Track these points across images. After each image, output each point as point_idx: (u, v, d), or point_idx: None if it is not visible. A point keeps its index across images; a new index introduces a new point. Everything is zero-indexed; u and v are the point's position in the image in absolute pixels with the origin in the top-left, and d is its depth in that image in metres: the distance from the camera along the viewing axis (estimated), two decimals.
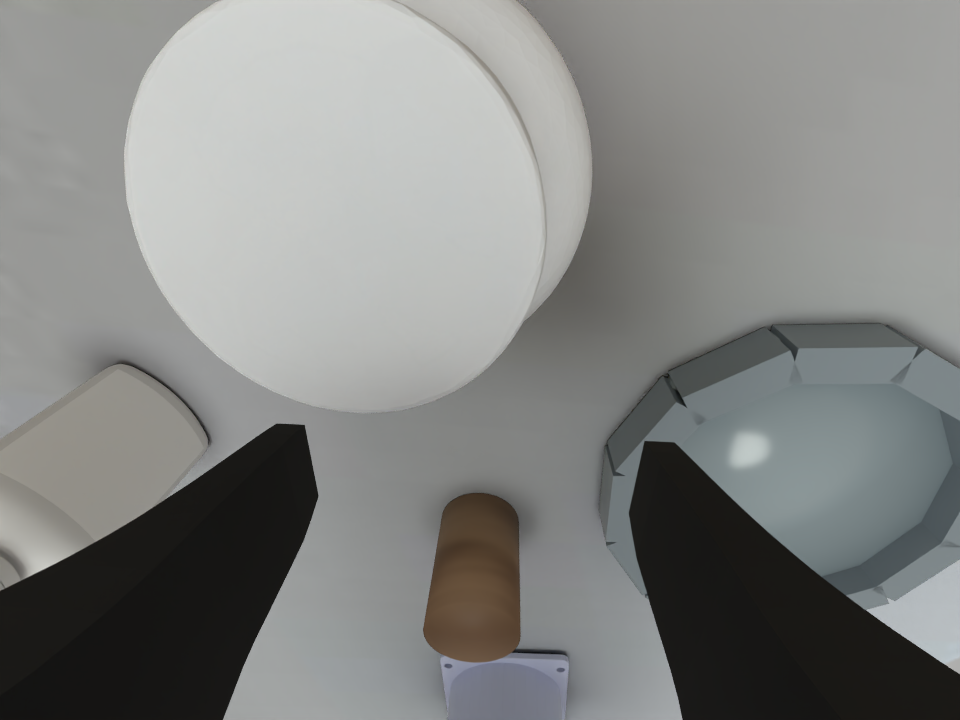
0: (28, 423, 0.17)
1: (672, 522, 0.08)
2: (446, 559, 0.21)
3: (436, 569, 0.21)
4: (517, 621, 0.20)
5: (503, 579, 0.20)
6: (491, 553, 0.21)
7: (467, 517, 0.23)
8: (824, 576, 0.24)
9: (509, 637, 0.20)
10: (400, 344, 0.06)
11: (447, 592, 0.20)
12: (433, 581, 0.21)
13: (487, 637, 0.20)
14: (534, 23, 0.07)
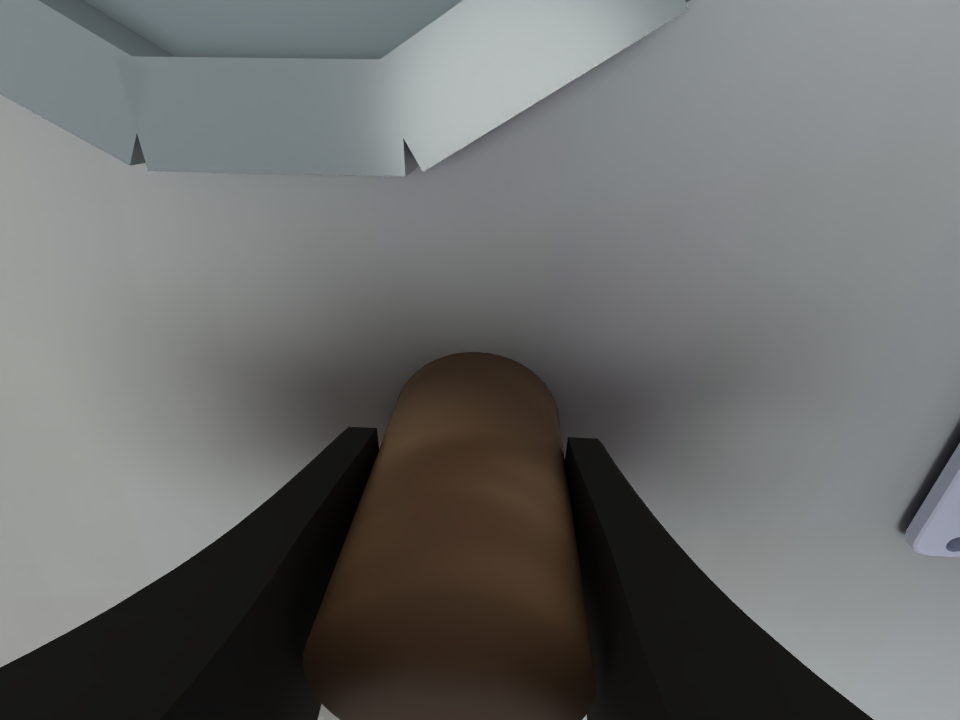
0: None
1: (581, 518, 0.08)
2: None
3: None
4: (393, 579, 0.06)
5: (359, 525, 0.07)
6: None
7: None
8: None
9: (456, 614, 0.06)
10: None
11: None
12: None
13: (459, 658, 0.06)
14: None
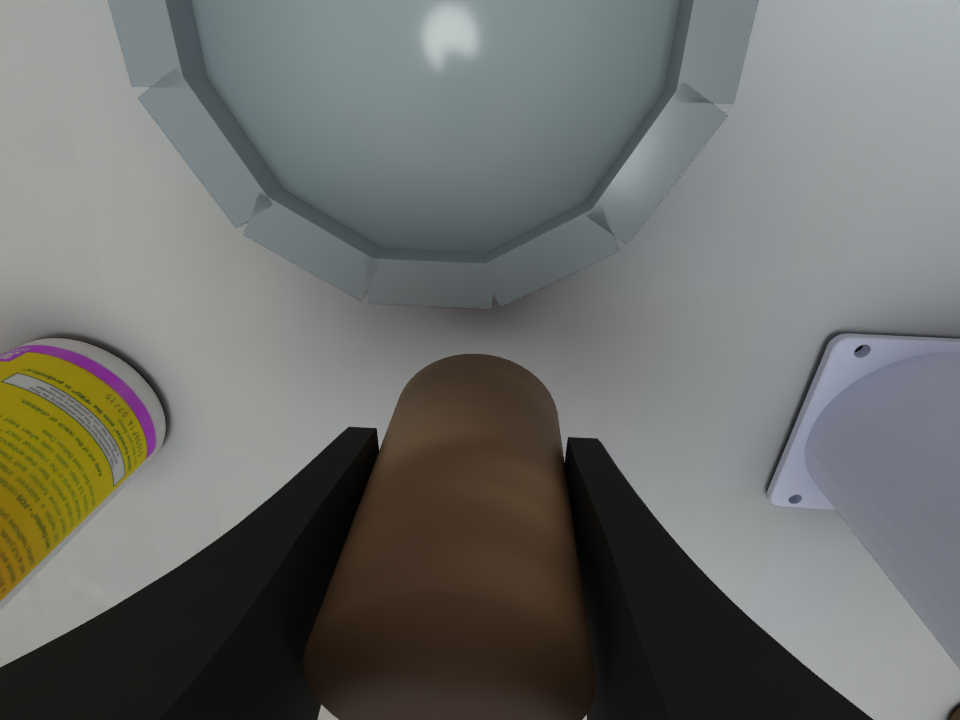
0: None
1: (582, 518, 0.08)
2: None
3: None
4: (393, 581, 0.06)
5: (359, 527, 0.07)
6: (360, 503, 0.09)
7: None
8: None
9: (456, 616, 0.06)
10: None
11: None
12: None
13: (459, 659, 0.06)
14: None
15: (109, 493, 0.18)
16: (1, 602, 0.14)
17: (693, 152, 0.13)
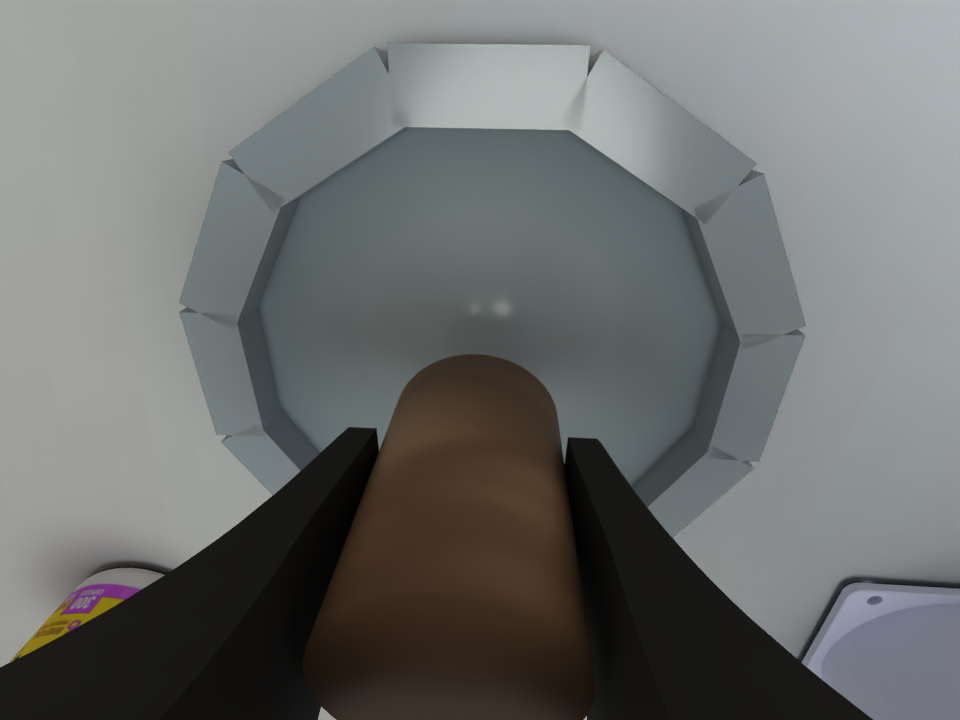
0: None
1: (582, 517, 0.08)
2: None
3: None
4: (392, 583, 0.06)
5: (359, 529, 0.07)
6: (359, 504, 0.09)
7: None
8: (701, 266, 0.13)
9: (455, 618, 0.06)
10: None
11: None
12: None
13: (458, 661, 0.06)
14: None
15: None
16: None
17: (722, 490, 0.15)
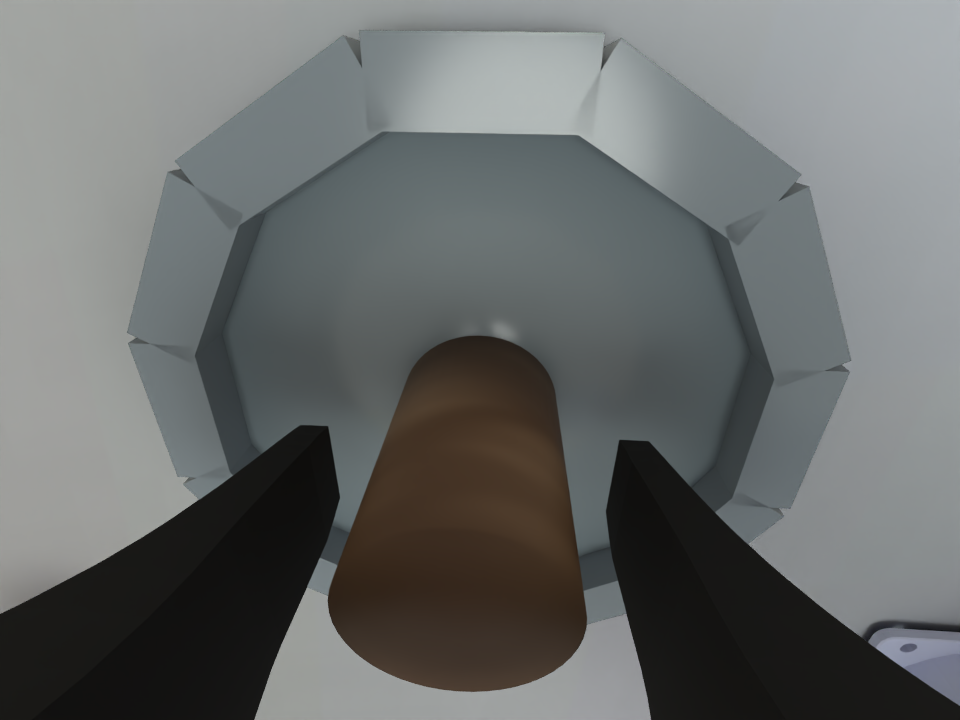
0: None
1: (642, 521, 0.08)
2: None
3: None
4: (409, 521, 0.07)
5: (375, 484, 0.08)
6: (374, 467, 0.09)
7: None
8: (728, 291, 0.11)
9: (464, 551, 0.07)
10: None
11: None
12: None
13: (466, 593, 0.07)
14: None
15: None
16: None
17: (747, 538, 0.13)
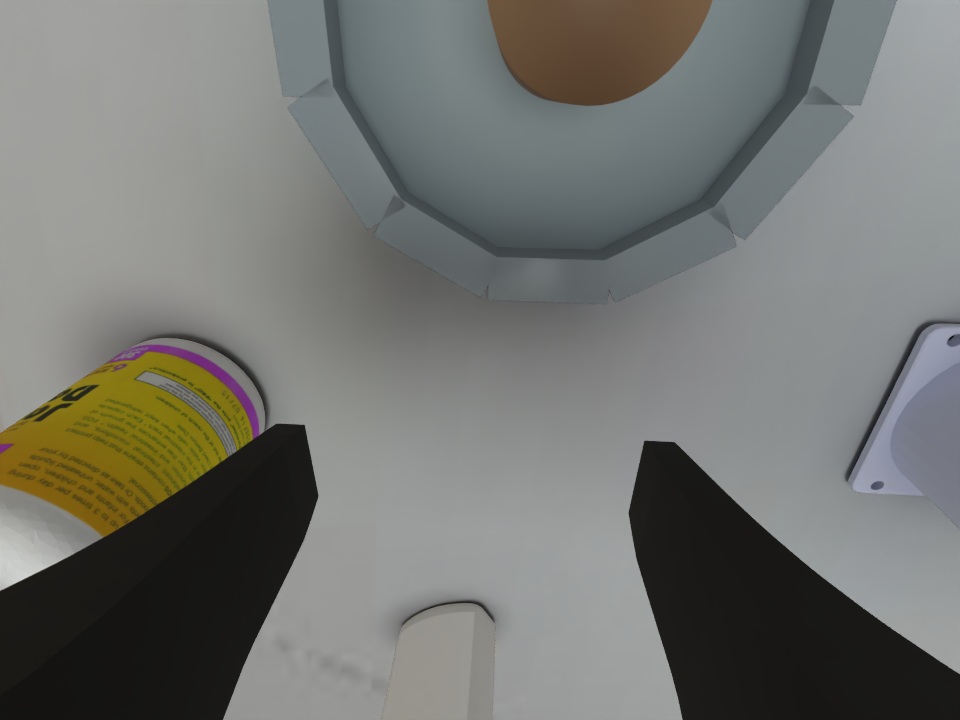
0: (382, 716, 0.25)
1: (672, 523, 0.08)
2: (507, 63, 0.11)
3: (528, 87, 0.11)
4: None
5: None
6: None
7: None
8: None
9: None
10: None
11: (498, 42, 0.09)
12: (534, 90, 0.11)
13: None
14: None
15: None
16: None
17: (817, 151, 0.14)
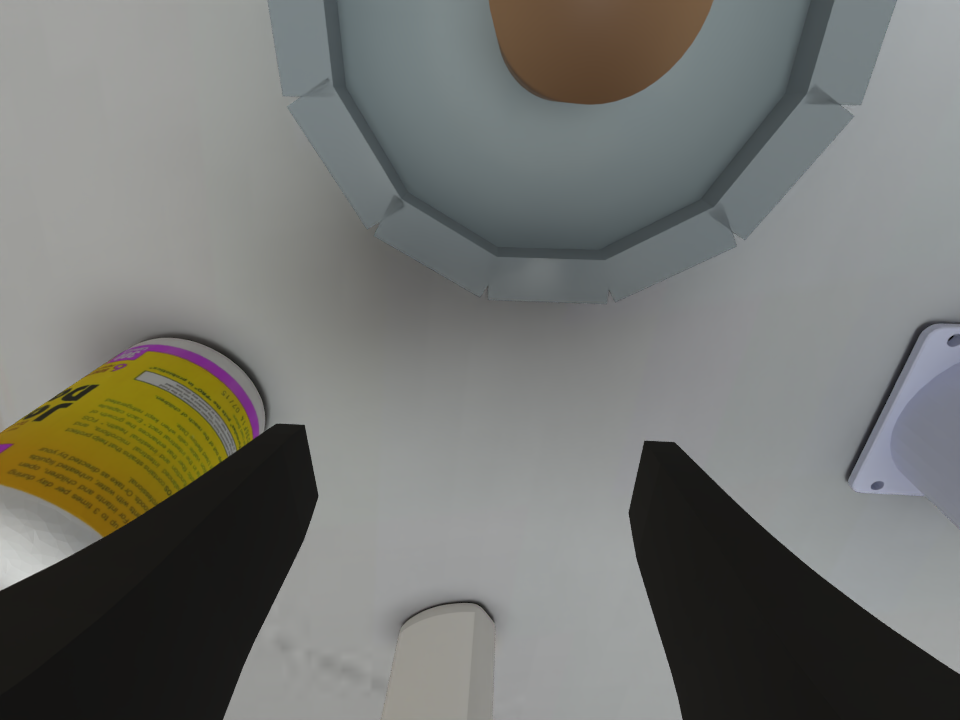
0: (382, 715, 0.25)
1: (672, 522, 0.08)
2: (508, 63, 0.11)
3: (529, 86, 0.11)
4: None
5: None
6: None
7: None
8: None
9: None
10: None
11: (499, 41, 0.09)
12: (535, 89, 0.11)
13: None
14: None
15: None
16: None
17: (817, 151, 0.14)
